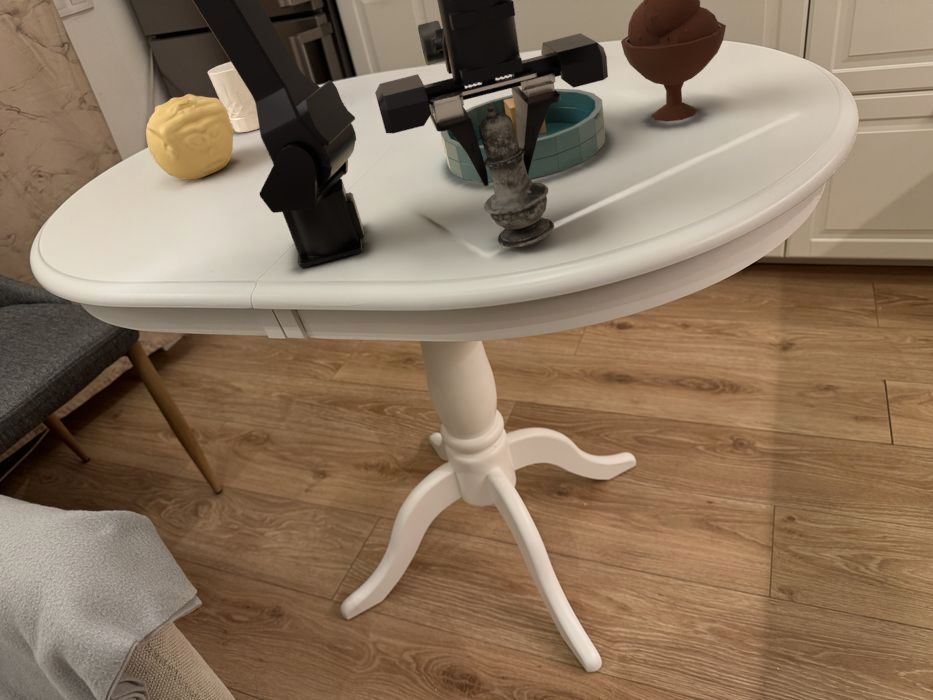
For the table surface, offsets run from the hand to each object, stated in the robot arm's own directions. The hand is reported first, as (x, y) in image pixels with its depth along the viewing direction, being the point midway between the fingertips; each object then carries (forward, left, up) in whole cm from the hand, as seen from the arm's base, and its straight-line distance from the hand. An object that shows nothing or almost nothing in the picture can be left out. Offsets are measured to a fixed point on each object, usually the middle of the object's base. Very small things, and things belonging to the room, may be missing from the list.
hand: (505, 179), depth 62 cm
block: (+8, +25, -5) cm, 27 cm away
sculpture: (-37, +47, -6) cm, 60 cm away
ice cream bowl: (+24, +19, -6) cm, 31 cm away
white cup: (-31, +66, -6) cm, 73 cm away
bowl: (+6, +20, -6) cm, 22 cm away
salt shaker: (+1, -2, -5) cm, 5 cm away
